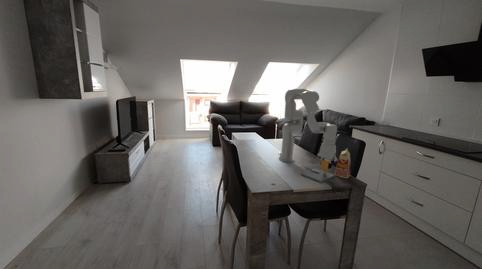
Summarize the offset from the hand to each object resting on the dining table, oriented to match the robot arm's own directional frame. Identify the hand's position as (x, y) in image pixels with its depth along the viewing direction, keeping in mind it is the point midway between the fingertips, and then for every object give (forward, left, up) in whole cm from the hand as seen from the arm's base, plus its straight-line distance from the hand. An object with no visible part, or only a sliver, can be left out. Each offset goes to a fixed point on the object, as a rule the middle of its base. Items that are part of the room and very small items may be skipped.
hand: (325, 166), depth 160 cm
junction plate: (-4, -2, -8) cm, 9 cm away
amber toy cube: (0, 0, -1) cm, 1 cm away
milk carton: (+6, +14, -8) cm, 17 cm away
